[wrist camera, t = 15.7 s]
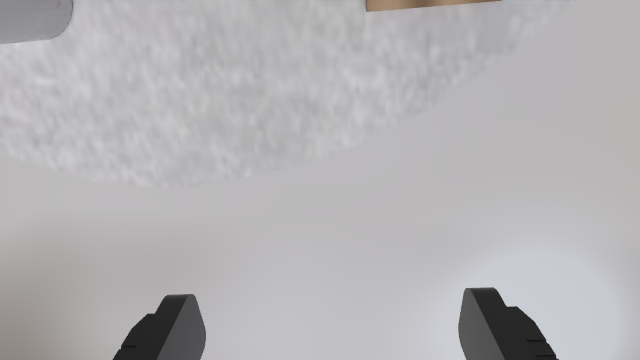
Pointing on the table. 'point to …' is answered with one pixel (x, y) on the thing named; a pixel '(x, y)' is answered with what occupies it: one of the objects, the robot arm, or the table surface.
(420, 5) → the track
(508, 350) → the robot arm
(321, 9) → the table surface
